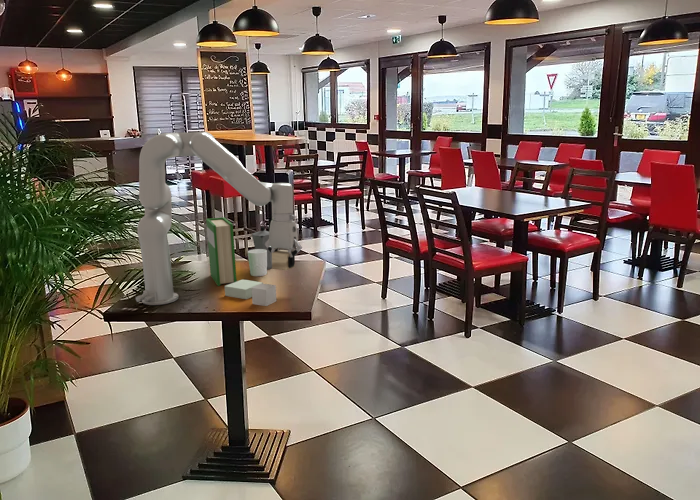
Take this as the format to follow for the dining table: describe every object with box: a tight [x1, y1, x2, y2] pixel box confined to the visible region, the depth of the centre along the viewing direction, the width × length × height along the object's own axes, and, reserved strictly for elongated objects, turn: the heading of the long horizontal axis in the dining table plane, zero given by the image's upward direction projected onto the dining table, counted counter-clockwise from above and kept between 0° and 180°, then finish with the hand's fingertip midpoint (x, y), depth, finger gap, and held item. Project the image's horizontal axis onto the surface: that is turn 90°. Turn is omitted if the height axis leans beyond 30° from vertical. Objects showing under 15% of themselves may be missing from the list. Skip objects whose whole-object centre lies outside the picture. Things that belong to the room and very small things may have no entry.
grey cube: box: [251, 282, 277, 307], centre depth 200 cm, size 6×6×6 cm
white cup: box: [247, 248, 268, 277], centre depth 237 cm, size 8×8×10 cm
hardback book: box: [205, 216, 238, 287], centre depth 229 cm, size 18×7×24 cm, turn 22°
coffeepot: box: [251, 226, 273, 270], centre depth 249 cm, size 15×9×18 cm, turn 4°
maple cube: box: [272, 249, 296, 272], centre depth 209 cm, size 6×6×6 cm
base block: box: [224, 279, 263, 300], centre depth 211 cm, size 10×10×4 cm
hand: (283, 265), depth 209 cm, fingers closed on maple cube, 6 cm apart
